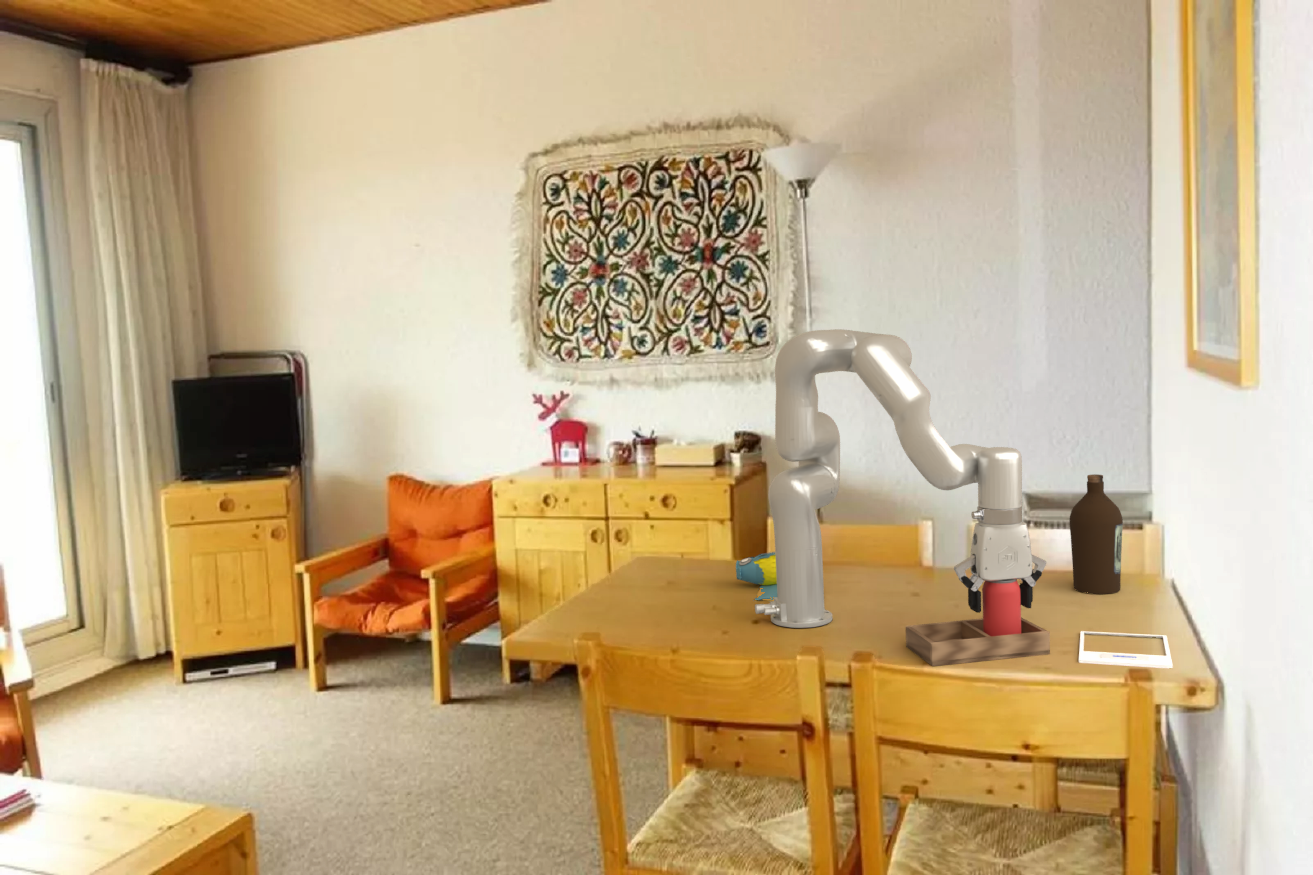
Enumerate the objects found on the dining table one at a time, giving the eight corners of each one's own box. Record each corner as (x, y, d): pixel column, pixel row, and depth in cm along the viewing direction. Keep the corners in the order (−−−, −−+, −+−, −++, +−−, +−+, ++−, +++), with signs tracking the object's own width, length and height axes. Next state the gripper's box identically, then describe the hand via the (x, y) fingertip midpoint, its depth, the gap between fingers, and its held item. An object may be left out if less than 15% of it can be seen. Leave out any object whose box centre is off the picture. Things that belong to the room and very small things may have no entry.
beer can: (1013, 635, 198) (1012, 572, 197) (1027, 646, 191) (1025, 580, 190) (978, 638, 198) (976, 574, 197) (990, 648, 191) (989, 583, 190)
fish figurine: (792, 564, 235) (724, 566, 238) (794, 603, 235) (727, 604, 239) (806, 539, 262) (745, 541, 265) (808, 574, 262) (747, 575, 266)
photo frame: (1078, 658, 184) (1080, 630, 200) (1078, 665, 184) (1080, 635, 201) (1172, 664, 178) (1166, 634, 195) (1172, 670, 178) (1166, 640, 195)
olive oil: (1069, 594, 229) (1067, 478, 226) (1071, 582, 239) (1069, 471, 236) (1123, 596, 225) (1122, 479, 222) (1123, 584, 234) (1122, 471, 232)
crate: (932, 666, 186) (931, 644, 186) (906, 647, 198) (905, 626, 198) (1049, 654, 189) (1049, 632, 189) (1017, 635, 201) (1016, 615, 201)
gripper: (963, 523, 187) (964, 618, 189) (1055, 516, 190) (1055, 610, 192) (945, 515, 195) (946, 607, 196) (1034, 509, 197) (1034, 599, 199)
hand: (1000, 608), depth 194 cm, fingers open, 9 cm apart
